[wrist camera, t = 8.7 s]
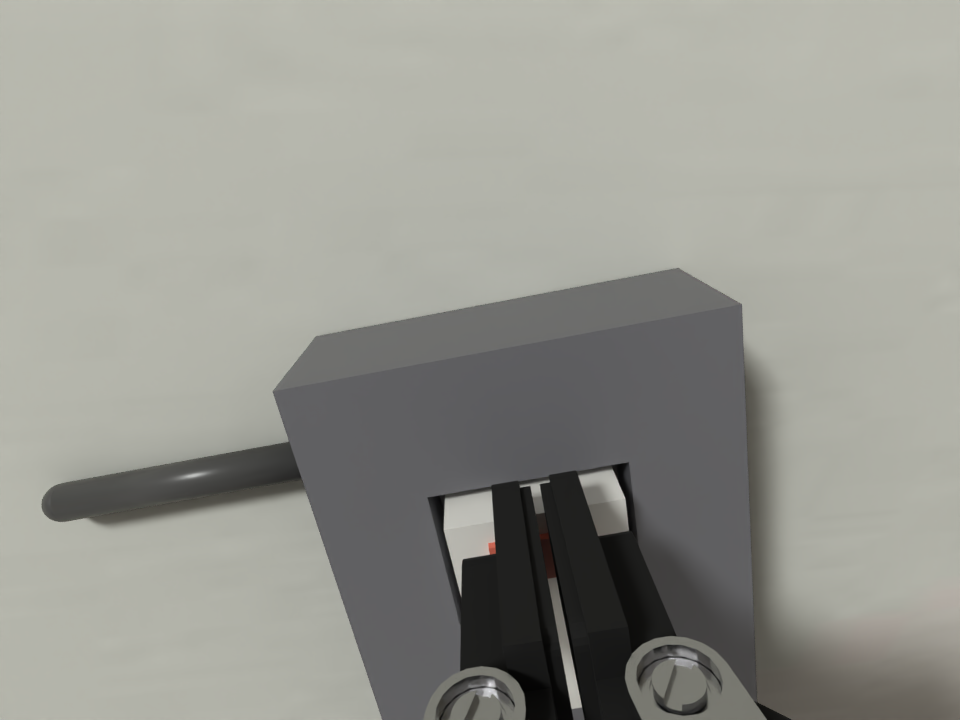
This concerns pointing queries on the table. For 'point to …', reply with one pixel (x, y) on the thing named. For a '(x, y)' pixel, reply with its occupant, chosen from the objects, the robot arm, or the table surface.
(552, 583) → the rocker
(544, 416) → the rocker switch panel
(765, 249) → the table surface
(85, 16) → the table surface
